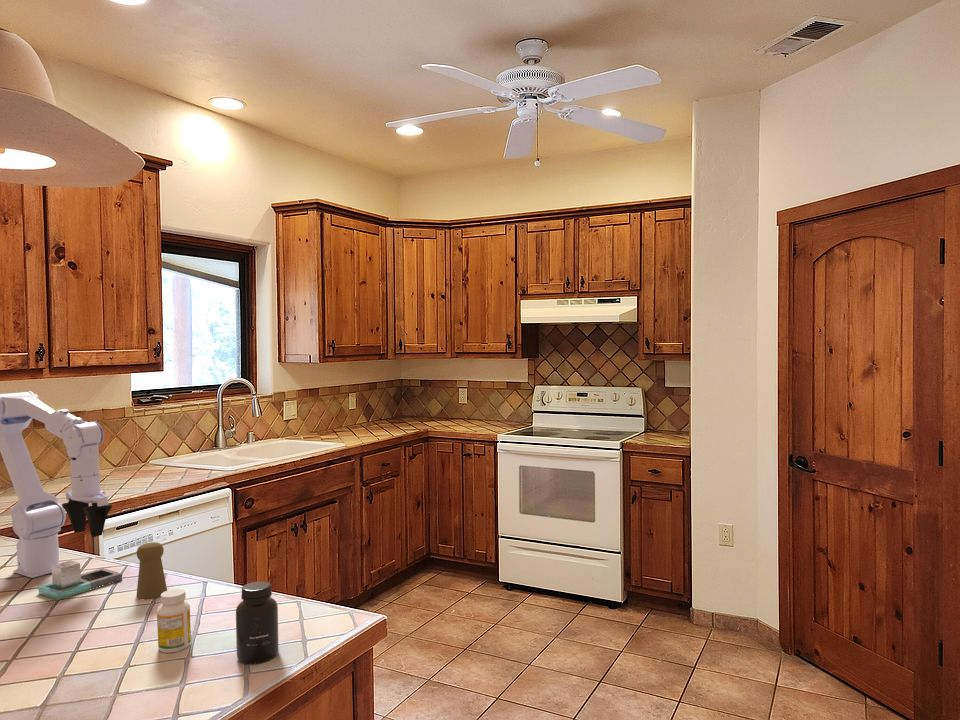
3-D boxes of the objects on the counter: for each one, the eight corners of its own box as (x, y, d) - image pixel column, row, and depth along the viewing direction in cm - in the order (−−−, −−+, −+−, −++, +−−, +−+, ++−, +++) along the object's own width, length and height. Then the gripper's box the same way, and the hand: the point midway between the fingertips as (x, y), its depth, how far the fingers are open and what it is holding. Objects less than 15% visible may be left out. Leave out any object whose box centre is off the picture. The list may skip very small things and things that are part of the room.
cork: (136, 592, 149) (134, 542, 149) (167, 587, 152) (165, 538, 151) (135, 601, 143) (133, 549, 143) (167, 596, 146) (165, 545, 146)
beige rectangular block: (52, 592, 150) (51, 565, 150) (71, 586, 154) (70, 560, 154) (62, 595, 148) (61, 568, 148) (81, 590, 152) (80, 563, 151)
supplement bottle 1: (174, 655, 118) (172, 600, 118) (151, 651, 120) (148, 596, 120) (198, 642, 123) (196, 589, 123) (175, 638, 125) (173, 586, 125)
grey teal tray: (38, 593, 150) (38, 586, 150) (103, 574, 162) (102, 568, 162) (57, 600, 146) (57, 593, 146) (122, 579, 157) (121, 573, 157)
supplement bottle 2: (255, 668, 112) (252, 596, 112) (228, 659, 116) (225, 588, 115) (287, 651, 118) (285, 582, 118) (260, 643, 122) (258, 576, 121)
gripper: (119, 474, 158) (122, 533, 158) (86, 469, 166) (89, 525, 166) (88, 480, 152) (91, 541, 152) (55, 474, 160) (58, 532, 160)
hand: (88, 533), depth 159 cm, fingers open, 7 cm apart
